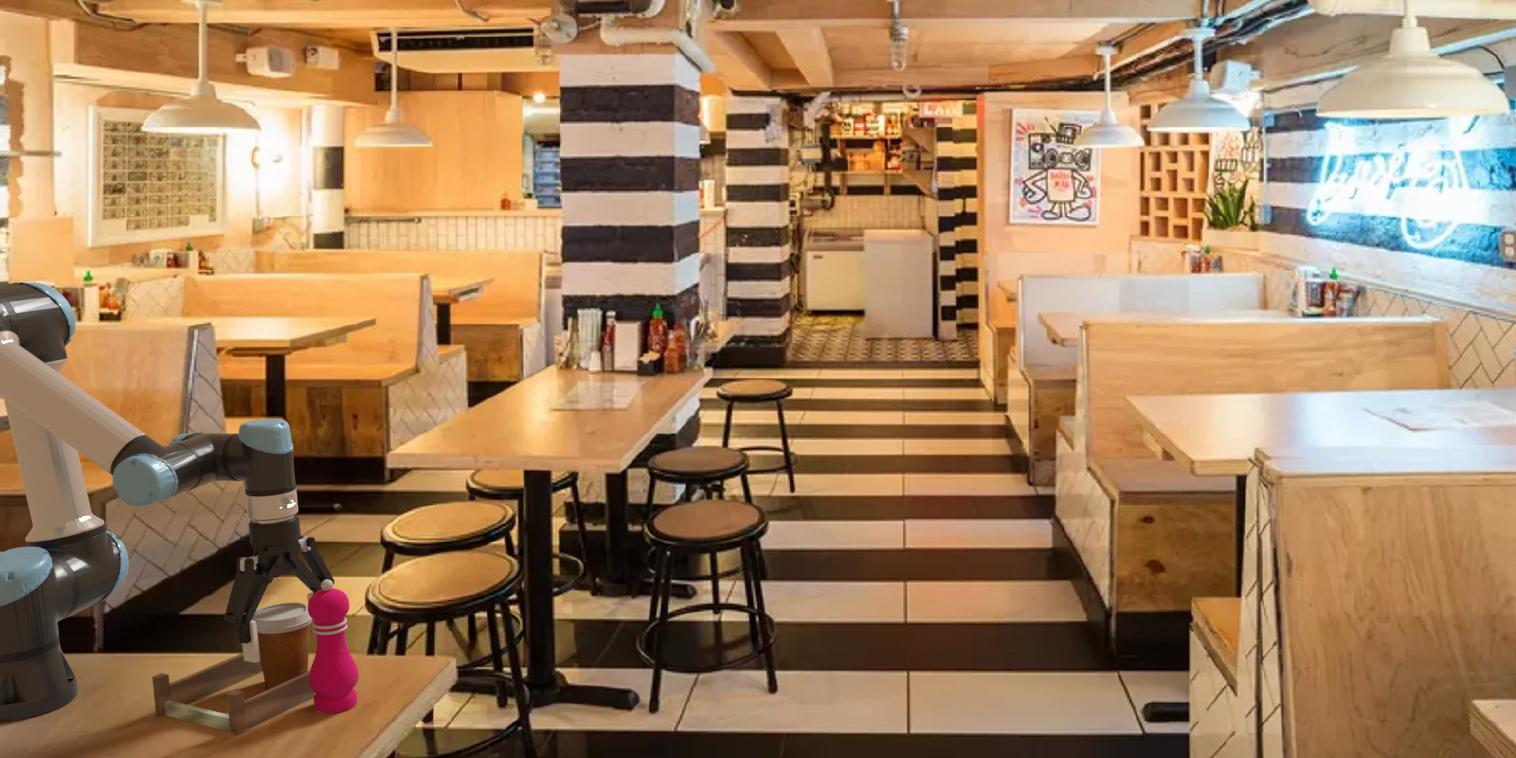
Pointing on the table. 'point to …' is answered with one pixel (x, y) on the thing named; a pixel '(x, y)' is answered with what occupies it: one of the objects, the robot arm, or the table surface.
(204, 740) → the table surface
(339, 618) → the pepper mill
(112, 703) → the table surface
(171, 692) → the bay
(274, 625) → the disposable coffee cup
